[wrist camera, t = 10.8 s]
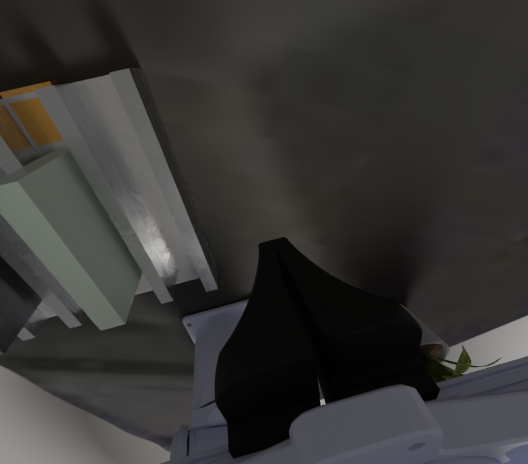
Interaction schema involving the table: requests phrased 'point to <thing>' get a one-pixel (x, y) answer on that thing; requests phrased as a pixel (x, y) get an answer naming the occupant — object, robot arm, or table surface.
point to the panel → (72, 235)
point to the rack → (99, 192)
